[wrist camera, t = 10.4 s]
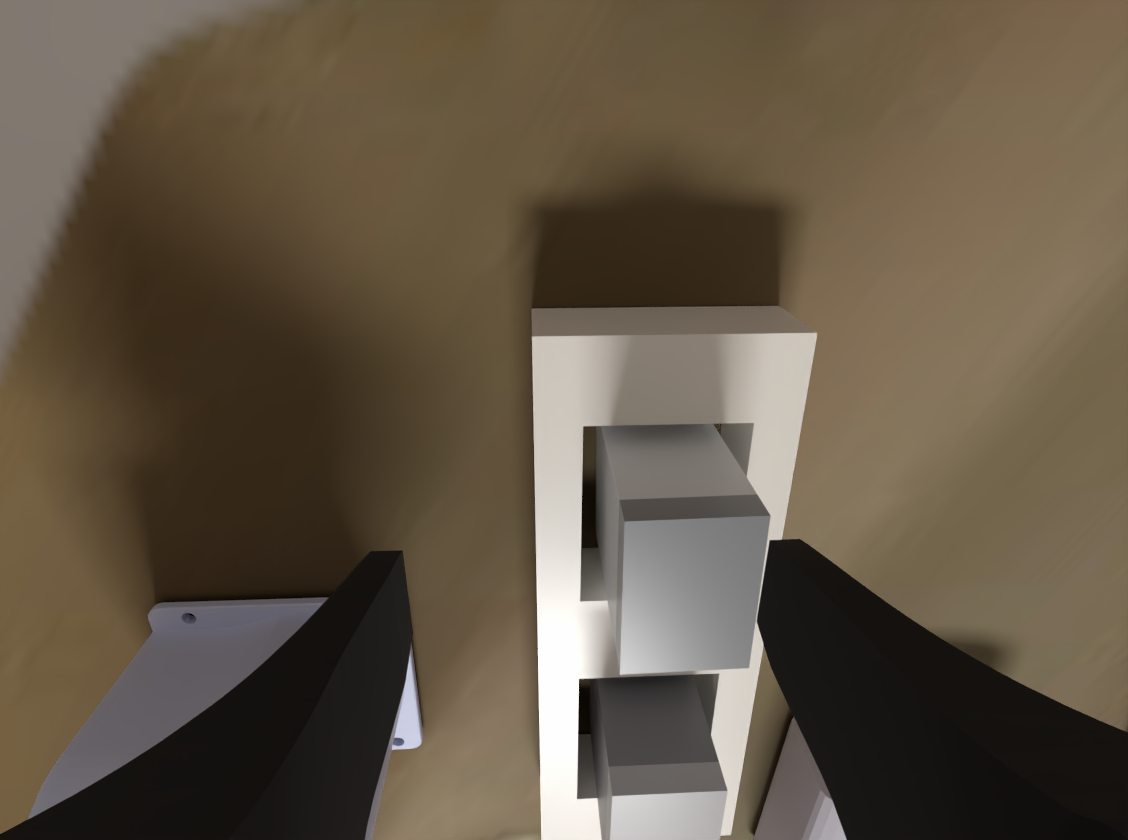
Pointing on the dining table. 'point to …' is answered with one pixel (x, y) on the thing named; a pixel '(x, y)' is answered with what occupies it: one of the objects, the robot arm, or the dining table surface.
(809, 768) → the charger
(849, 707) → the robot arm
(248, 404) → the dining table surface
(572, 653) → the power strip
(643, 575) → the grey plug
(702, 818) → the charcoal plug
